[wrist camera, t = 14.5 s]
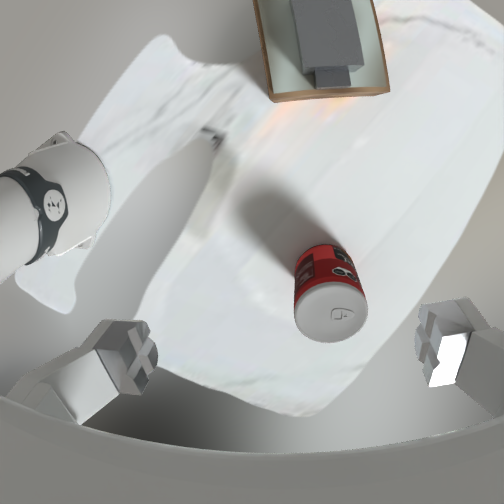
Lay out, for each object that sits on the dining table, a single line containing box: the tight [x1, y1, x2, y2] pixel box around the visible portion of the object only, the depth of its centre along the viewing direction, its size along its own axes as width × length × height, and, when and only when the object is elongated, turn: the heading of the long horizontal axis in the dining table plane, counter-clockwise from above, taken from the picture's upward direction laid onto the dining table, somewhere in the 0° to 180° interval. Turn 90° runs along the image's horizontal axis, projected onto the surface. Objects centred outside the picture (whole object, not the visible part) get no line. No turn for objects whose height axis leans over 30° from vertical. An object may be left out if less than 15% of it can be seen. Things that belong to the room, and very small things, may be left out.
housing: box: [289, 0, 365, 90], centre depth 22 cm, size 10×5×4 cm, turn 8°
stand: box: [253, 0, 390, 103], centre depth 27 cm, size 12×12×8 cm
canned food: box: [294, 245, 368, 343], centre depth 37 cm, size 8×8×11 cm
